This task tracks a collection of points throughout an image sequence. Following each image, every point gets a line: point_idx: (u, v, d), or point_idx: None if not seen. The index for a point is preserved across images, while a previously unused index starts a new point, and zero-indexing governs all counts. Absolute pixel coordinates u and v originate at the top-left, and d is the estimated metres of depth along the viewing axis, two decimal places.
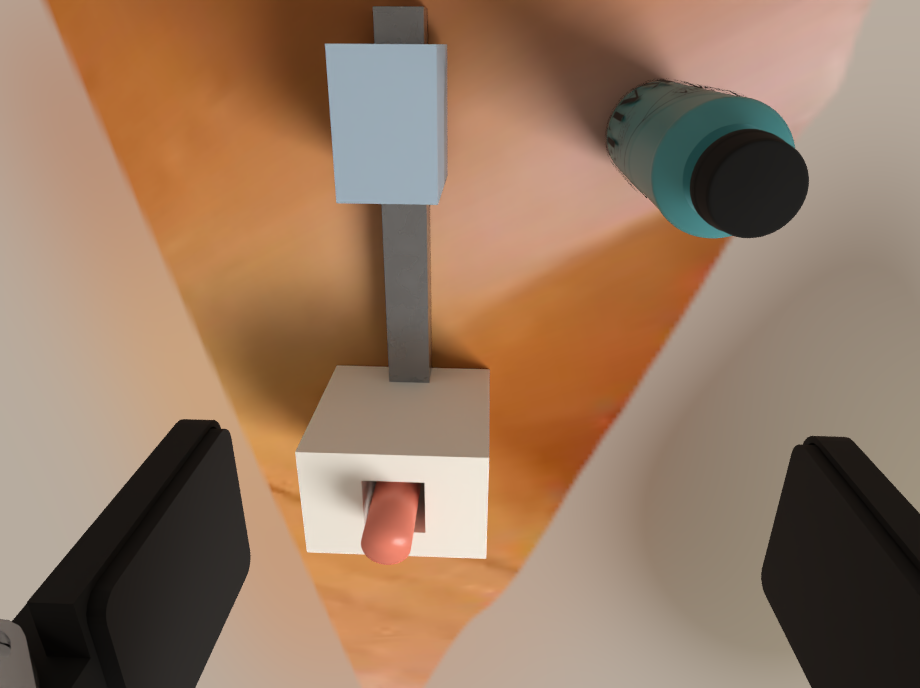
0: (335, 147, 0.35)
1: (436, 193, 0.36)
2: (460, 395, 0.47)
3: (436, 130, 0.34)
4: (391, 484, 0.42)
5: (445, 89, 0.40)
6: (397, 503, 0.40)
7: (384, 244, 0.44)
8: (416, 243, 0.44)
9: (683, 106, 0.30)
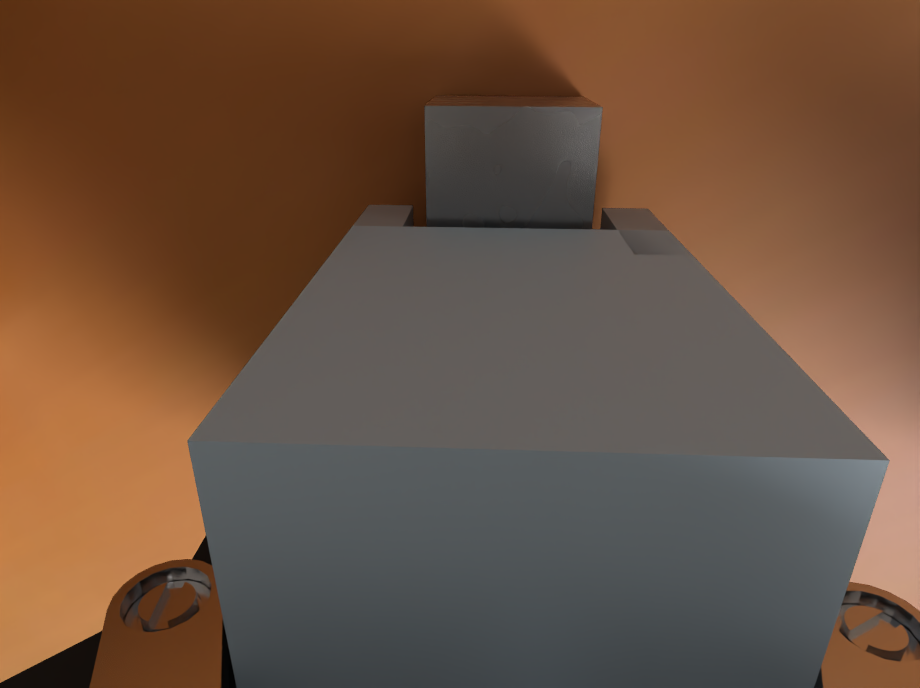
0: None
1: None
2: None
3: None
4: None
5: None
6: None
7: None
8: None
9: None
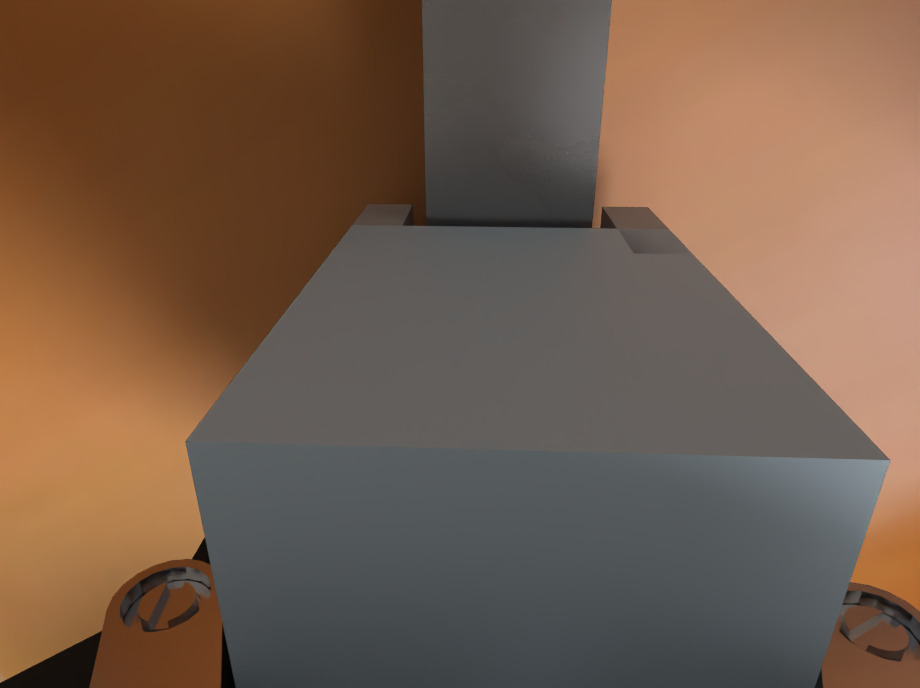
0: None
1: None
2: None
3: None
4: None
5: None
6: None
7: None
8: None
9: None
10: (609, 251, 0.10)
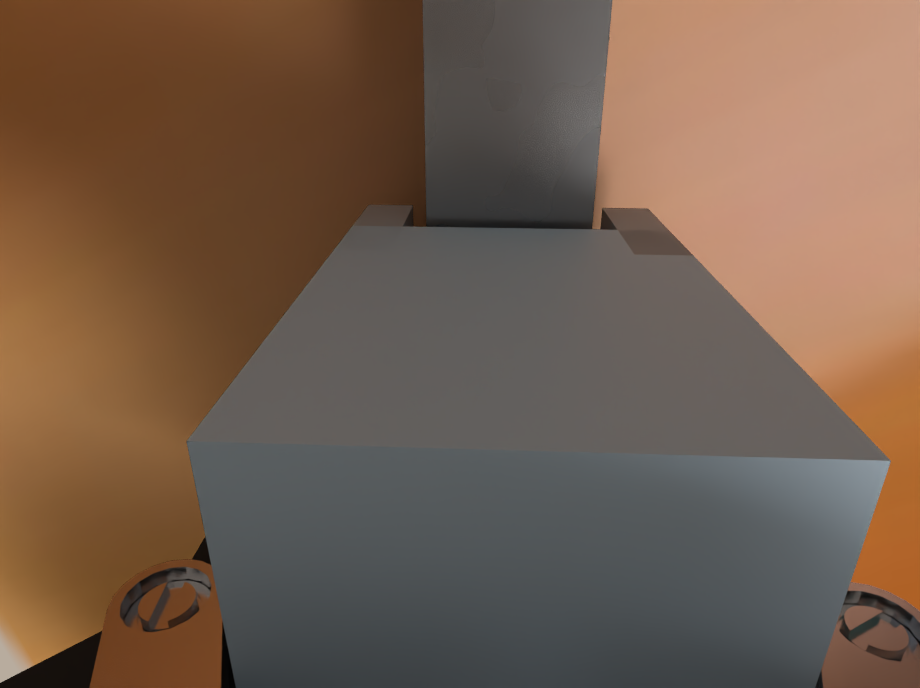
0: None
1: None
2: None
3: None
4: None
5: None
6: None
7: None
8: None
9: None
10: (609, 252, 0.10)
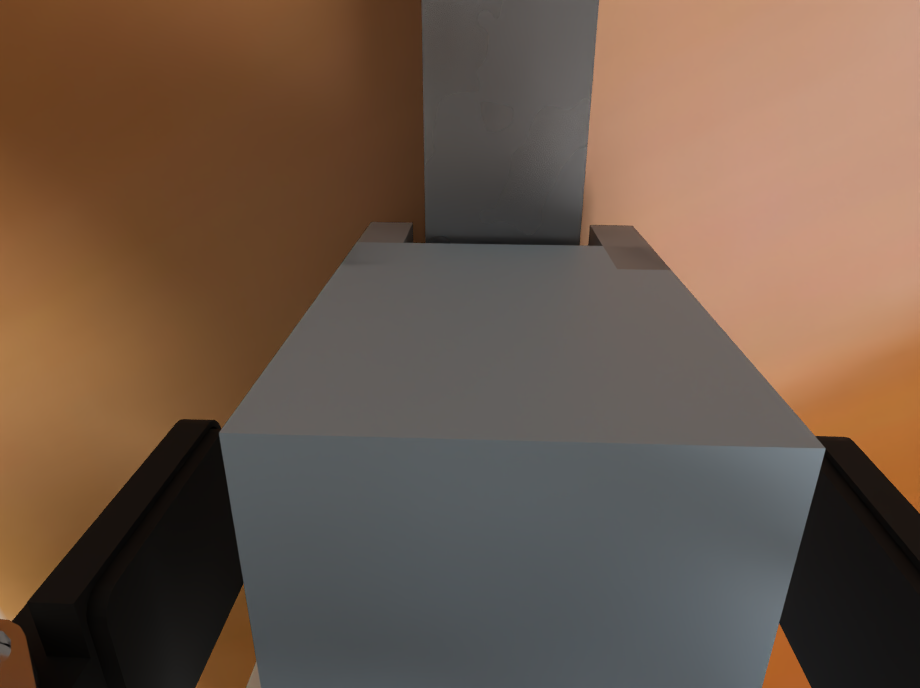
0: None
1: None
2: None
3: None
4: None
5: None
6: None
7: None
8: None
9: None
10: (594, 267, 0.11)
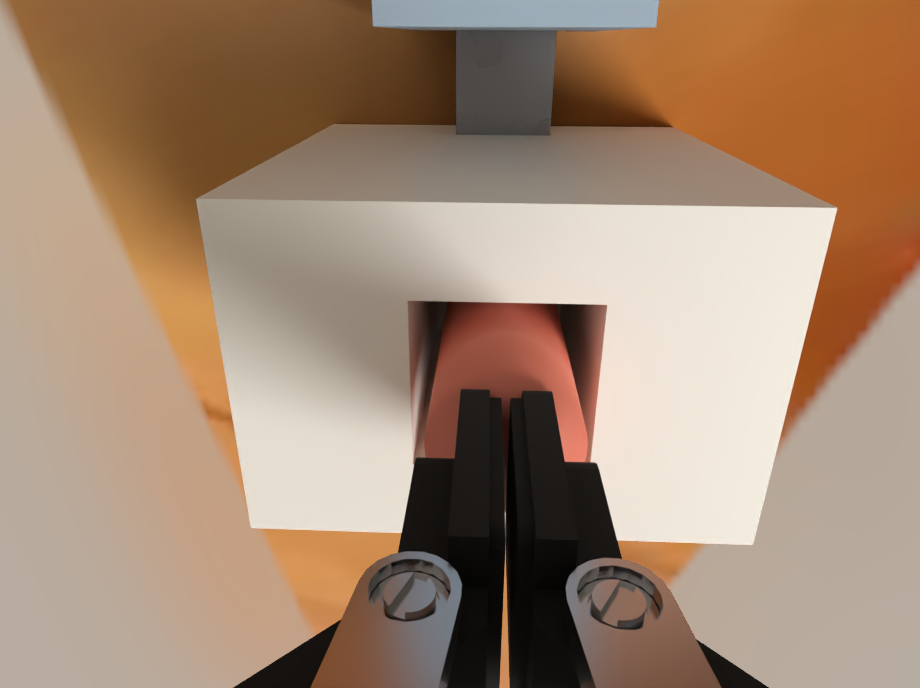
0: None
1: None
2: (637, 145, 0.19)
3: None
4: None
5: None
6: (529, 329, 0.13)
7: None
8: None
9: None
10: None
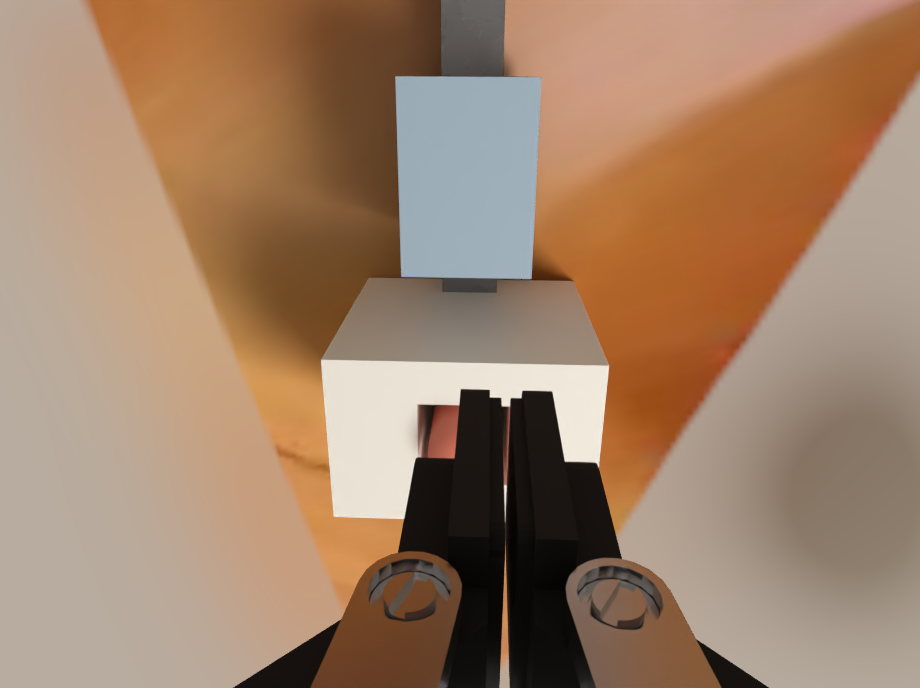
0: (403, 207, 0.27)
1: (530, 265, 0.28)
2: (543, 304, 0.34)
3: (535, 186, 0.27)
4: None
5: None
6: None
7: None
8: None
9: None
10: None
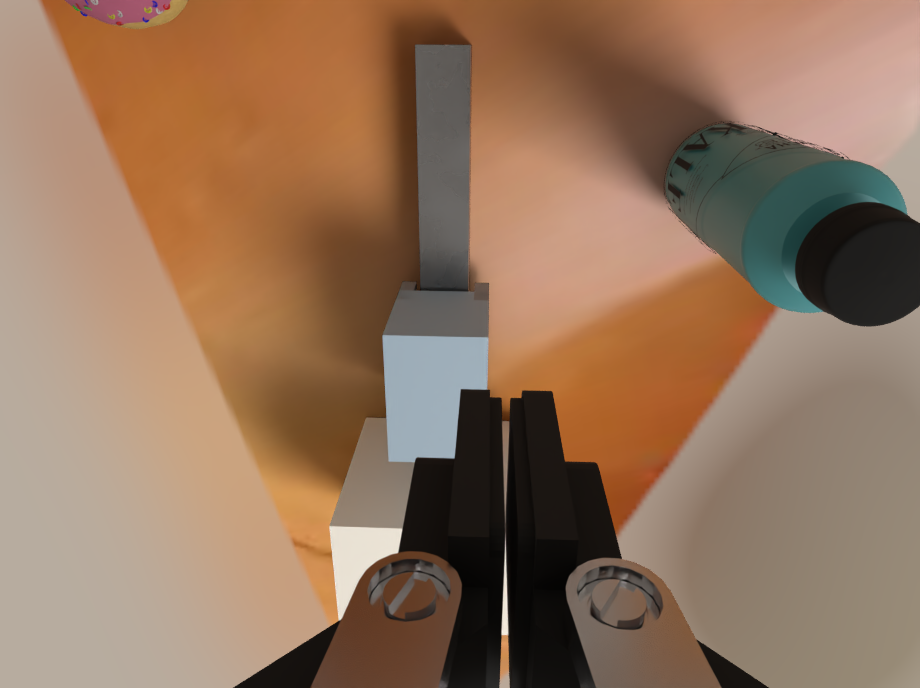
0: (389, 417, 0.37)
1: None
2: None
3: None
4: None
5: None
6: None
7: None
8: None
9: (777, 167, 0.26)
10: (467, 299, 0.39)
